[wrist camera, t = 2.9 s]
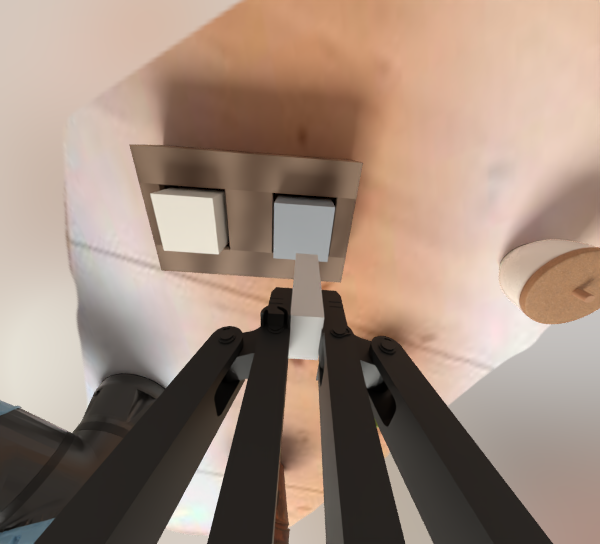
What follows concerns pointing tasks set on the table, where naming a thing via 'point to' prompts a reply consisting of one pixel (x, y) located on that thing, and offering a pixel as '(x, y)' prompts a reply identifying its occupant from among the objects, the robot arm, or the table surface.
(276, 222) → the slate key
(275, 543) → the brown tapered cylinder
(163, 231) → the cream key
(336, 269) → the key block
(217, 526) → the robot arm
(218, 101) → the table surface
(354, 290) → the table surface
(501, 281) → the lidded jar
